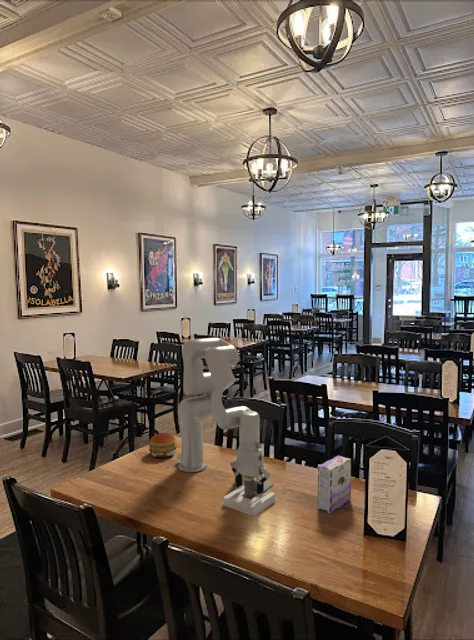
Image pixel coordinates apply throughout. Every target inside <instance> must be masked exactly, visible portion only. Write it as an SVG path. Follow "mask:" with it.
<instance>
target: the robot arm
mask: <svg viewBox="0 0 474 640" xmlns="http://www.w3.org/2000/svg"><path fill="white" fill-rule="evenodd" d="M181 348H182V349H181V354H182V356H181V357H182V360H183V382H182V383H183V384H182V387H183V393H184V394H185V395H186V396H188V397H187V398H185V399H183V400H181V401H180V402H179V405H178V412H179V416H180V425H181V426H180V427H181V429H180V430H181V452H179V453H178V454H177V456H176V459H177V460H179V463H178V470H180V471H182V472H186V473H196V472H200V471H203V470H205V469H206V468H207V462H206V461H204V449H203V448H204V437H203V436H204V432H203V430H204V428H203V426H202V424H201V422H200V421H199V419H201V418H205V417H210V416H213V418H214V420H215V423H216V425H217V426H218V427H219V428H220V429H221V430H224V431H225V430H230V429H235V428H238V430H239V432H238V433H239V435H238V437H239V438H238V439H239V440H238V441H239V442H238V443H239V444H238V445H239V446H238V447H237V452H236V457H235V459H236V461H235V460H234V461H231V462H229V464H230V468H231V471H232V472H233V475H234V478H235V477H236V484H235V487H236V488H239V487H241V485H242V474H244V475H247V476H250V477H253V478H254V479H256V480H257V481H258V484H257V494H258V495H259V494H261V493H262V492H263V490H264V482H266V481H267V480H268V479H269V476H270V474H271V473H270V472H269V471H268V470H267V469H266V468H265V464H264V455H263V450H262V448H263V445H262V444H260V435H261V434H260V427H261V426H260V419H261V418H260V414H259V412H257V411H254V410H251V409H250V408H249V407H248V406H245V405H239V406H233V407H229V408H225V406H224V404H223V400H222V398H223V397H222V396H223V393H224V391H225V390H227V389H229V388H230V387H232V385H234V384H235V381H236V378H235V375H234V374H233V371H232V369H231V366H235V365H237V364H238V363H239V360H240V355H239V352H238V350H237V348H236V347H235V346H234V345H233V344H231V343H229V342H228V341H226V340H224V339H223V338H221V337H207V338H206V337H204V338H203V337H202V338H194V339H189V340H187V341H185V342H184V343H183V345H182V347H181ZM202 359H204V360H205V363H206V365H207V369H208V371H205V372H204V362H203V361H202ZM190 396H193V397H190ZM235 465H236V466H235Z"/></svg>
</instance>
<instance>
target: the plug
mask: <svg viewBox="0 0 474 640" xmlns="http://www.w3.org/2000/svg"><path fill="white" fill-rule="evenodd" d="M254 479H255V478H253V477H250V476H247V475H245V476H244V497H245V498H248V499H252V498H254Z"/></svg>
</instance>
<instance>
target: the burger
mask: <svg viewBox="0 0 474 640" xmlns="http://www.w3.org/2000/svg"><path fill="white" fill-rule="evenodd" d="M148 445H149V446H148V447H149V449H148V451H149V452H150V455H151V456H152V457H154V458H155V457H156V458H167V457H171V456H175V453H176V450H177V447H178V443H177V440H176V437H175V436H174V435H172V434H171V433H168V432H161V433H157V434H155V435H153V436H152V437H150V440H149V444H148Z"/></svg>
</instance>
